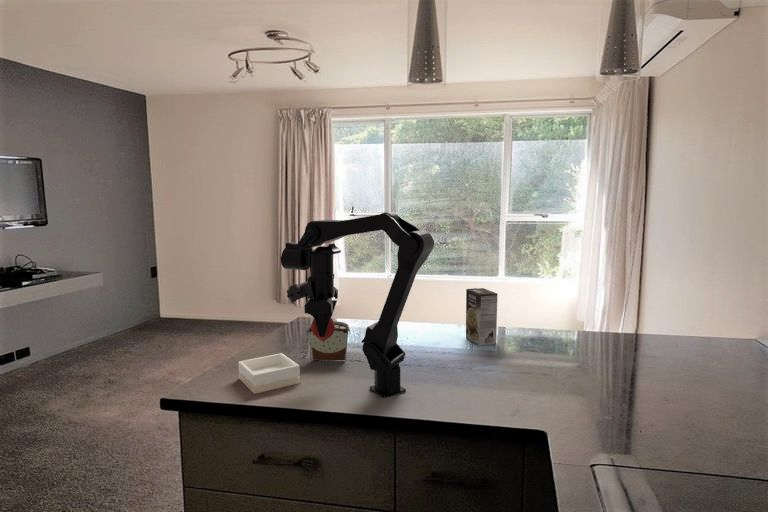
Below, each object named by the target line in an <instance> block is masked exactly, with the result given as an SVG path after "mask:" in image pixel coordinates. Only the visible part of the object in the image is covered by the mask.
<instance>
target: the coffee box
mask: <svg viewBox="0 0 768 512" xmlns="http://www.w3.org/2000/svg"><path fill="white" fill-rule="evenodd" d="M465 291H466V292H465V293H466V295H465V296H466V297H465V302H466V303H465V338H466V339H467V340H469V341H471V342H472V343H474V344H475V345H477V346H479V347H480V346H487V345H488V346H490V345H496V344H497V323H498V321H497V319H498V293H497V292H495V291H492V290H489V289H486V288H485V287H480V288H479V287H478V288H477V287H475V288H466V290H465Z"/></svg>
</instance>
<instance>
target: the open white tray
mask: <svg viewBox="0 0 768 512" xmlns="http://www.w3.org/2000/svg"><path fill="white" fill-rule="evenodd" d="M238 372H239V373H238V379H239V380H240V381H241V382H242V383H243V384H244V385H245V386H246V388H248V389H249V390H250V392H252V394H254V395H256V394H259V393H265V392H268V391H271V390H276V389H281V388H285V387H289V386H293V385H298V384H301V377H300V375H301V369H300V365H299V364H298V363H297V362H295V361H293V360H292V359H291V358H290V357H288V356H286V355H285V354H284V353H281V352H280V353H276V354H270V355H265V356H260V357H254V358H249V359H244V360H240V361H238Z"/></svg>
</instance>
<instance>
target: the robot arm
mask: <svg viewBox="0 0 768 512" xmlns="http://www.w3.org/2000/svg"><path fill="white" fill-rule="evenodd" d="M376 231H383V232H384V233H385V234H386V235H387V237H388V238H389V239H390V240H391V242H392V243H393V244H395V245H396V246H397V247H398V249H397V256H396V257H397V269H396V272H395V274H394V277H393V280H392V283H391V286H390V288H389V291H388V294H387V296H386V300H385V302H384V305H383V308H382V310H381V313H380V316H379V319H378V321H376V322H374V323H372V324H370V325H368V326H367V327H366V329H365V332H364V333H365V334H364V337H363V339H362V340H361V343H363V344H362V349H361V350H362V353H363V354H364V356H365V357H366V359H367V363H368V365H369V369H370V370H372V371H374V372H373V373H374V385H370V386H369V387H368V388H369V390H371V391H372V392H374V393H375V394H377V395H379V396H380V397H382V398H387V397H391V396H395V395H397V394H402V393H405V392H407V389H406V388H405V387H404V386H402V385H401V367H400V363H403V361H404V359H405V356H406V352H405V351H404V350H403V349H402V348H401V346H400V345H399V344H398V336H399V331H398V324H399V321H400V319H401V317H402V314H403V311H404V308H405V306H406V303H407V300H408V297H409V295H410V293H411V289H412V287H413V284H414V281H415V278H416V276H417V274H418V272H419V270H420V269H421V267H422V266H423V265H424V263H425V262H426V261H427V260H428V258H429V256H430V254H431V253H432V250H434V246H435V240H434V238H433V236H432V234H430V232H428V231H426V230H424V229H423V230H422V229H420V228H419V227H417V226H416V225H414V224H412V223H411V222H409V221H408V220H406V219H403V218H402V217H401V216H400V215H398V213H396V212H394V211H387V212H381V213H379V214H375V215H368V216H363V217H362V216H361V217H356V218H352V219H351V218H350V219H345V220H337V219H319V220H312V221H309V222H308V223H306V226H305V229H304V233H303V234H302V236H301V237H300V238H299V240H298V242H297V243H296V242H294V241H293V242H292V241H291V242H285V248H283V250H282V252H281V256H280V265H281V266H282V267H283V268H284V269H285V270H295V271H307V270H309V276H308V277H307V281H305V282H301V283H299V284H297V283H294V284H292V285H290V286H289V287H288V289H287V290H286V293H287V296H286V297H287V298H288V299H289V300H290V303H294V302H297V301H298V300H301V299H304V298H306V297H307V299H308V300H307V301H306V303H304V307H303V308H304V314H307V315H310V316H311V317H313V320H314V319H315V322H316V326H317V329H318V333H319V336H320V337H324V336H325V333H326V330H327V327H328V324H329V321H330V318H332V316H333V313H334V311H335V308H336V305H337V301H338V298H339V290H338V288H336V286H335V282H334V281H335V280H334V279H335V273H334V255H336V254H337V255H338V254H341V252H342V250H341V249H340V248H339V247H338V246H337V245H336V244H335V243H332V242H334V241H337V240H340V239H342V238H344V237H347V236H351V235H358V234H363V233H370V232H372V233H373V232H376ZM324 244H328V245H326V246H323V245H324ZM313 248H315V249H313ZM333 298H334V299H335V300H334V299H333ZM332 299H333V300H332Z"/></svg>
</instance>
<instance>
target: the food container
mask: <svg viewBox="0 0 768 512" xmlns="http://www.w3.org/2000/svg"><path fill="white" fill-rule="evenodd" d="M333 321H334V320H333ZM334 324H335V331H334V333H333V335H332V336H331V337H329V338H328V339H327V340H325V341H324V342H322V341H320V340H319V339H318V338H317V337H316V336H315V335H314V334H313V333H312V330H311V326H312V323H311V324H309V325H307V330H306V334H308V335H309V342H310V350H311V351H310V352H311V357H312V361H313V360H323V361H322V362H328V361H327V360H331V361H330V362H333V361H332V360H345V361H347V351H348V339H349V338H348V337H349V334H351V330H350V329H351V328H350V327H349V324H348V323H346V322H342V321H337V320H335V321H334ZM324 360H326V361H324Z"/></svg>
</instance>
